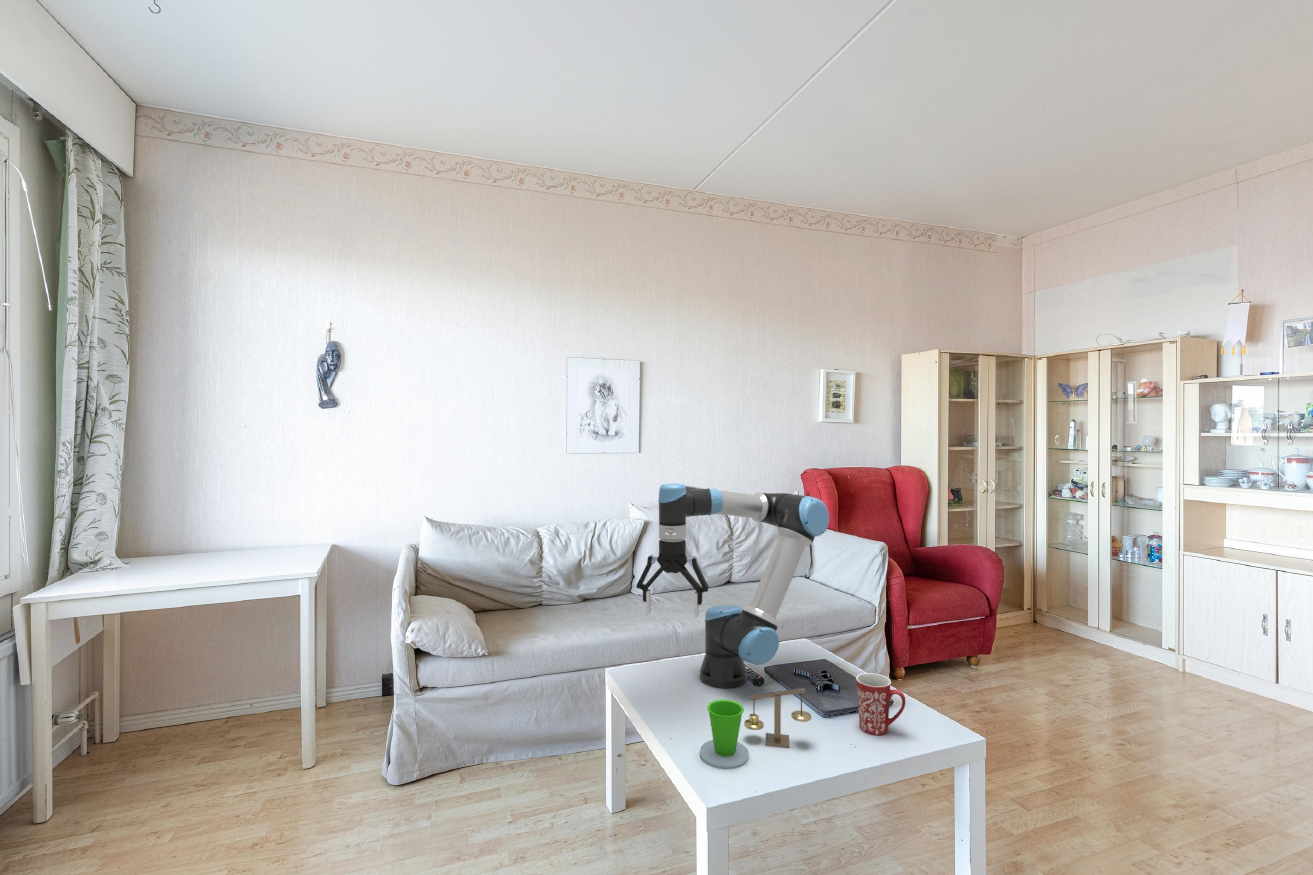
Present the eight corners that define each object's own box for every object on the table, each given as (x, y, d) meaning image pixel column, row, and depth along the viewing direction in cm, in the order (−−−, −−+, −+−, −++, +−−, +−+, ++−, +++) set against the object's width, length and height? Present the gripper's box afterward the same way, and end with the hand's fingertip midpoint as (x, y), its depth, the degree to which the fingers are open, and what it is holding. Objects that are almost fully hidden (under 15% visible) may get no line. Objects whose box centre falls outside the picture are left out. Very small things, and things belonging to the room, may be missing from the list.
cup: (741, 763, 149) (742, 717, 149) (704, 758, 151) (704, 713, 151) (745, 744, 158) (745, 701, 158) (709, 739, 160) (709, 697, 160)
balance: (743, 743, 160) (743, 688, 160) (744, 733, 165) (744, 680, 165) (811, 749, 157) (812, 693, 157) (810, 739, 162) (810, 685, 162)
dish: (702, 740, 162) (702, 736, 162) (749, 745, 159) (749, 741, 159) (697, 765, 150) (697, 761, 150) (747, 771, 148) (747, 766, 148)
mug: (851, 730, 167) (851, 681, 166) (861, 717, 174) (861, 669, 174) (900, 744, 160) (900, 692, 159) (908, 730, 167) (909, 680, 167)
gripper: (625, 540, 173) (625, 616, 173) (715, 543, 168) (715, 621, 169) (631, 535, 180) (632, 608, 181) (718, 538, 175) (718, 612, 176)
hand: (672, 614), depth 175 cm, fingers open, 13 cm apart
